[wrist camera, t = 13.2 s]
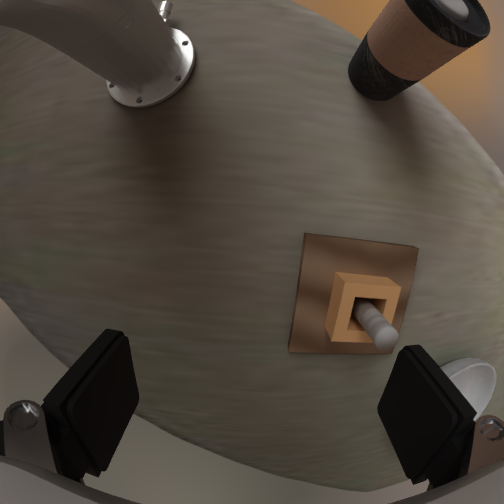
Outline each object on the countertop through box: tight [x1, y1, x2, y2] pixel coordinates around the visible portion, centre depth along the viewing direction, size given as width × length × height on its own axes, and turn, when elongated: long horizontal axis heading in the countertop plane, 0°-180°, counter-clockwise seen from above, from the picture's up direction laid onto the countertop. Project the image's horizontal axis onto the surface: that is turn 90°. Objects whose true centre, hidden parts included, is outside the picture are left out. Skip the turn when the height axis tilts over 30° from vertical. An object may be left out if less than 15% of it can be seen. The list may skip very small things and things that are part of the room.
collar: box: [325, 272, 401, 343], centre depth 31 cm, size 7×7×4 cm
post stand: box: [288, 233, 419, 354], centre depth 28 cm, size 15×15×12 cm
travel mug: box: [348, 0, 490, 101], centre depth 18 cm, size 8×8×20 cm
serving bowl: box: [440, 358, 496, 421], centre depth 34 cm, size 21×21×7 cm
